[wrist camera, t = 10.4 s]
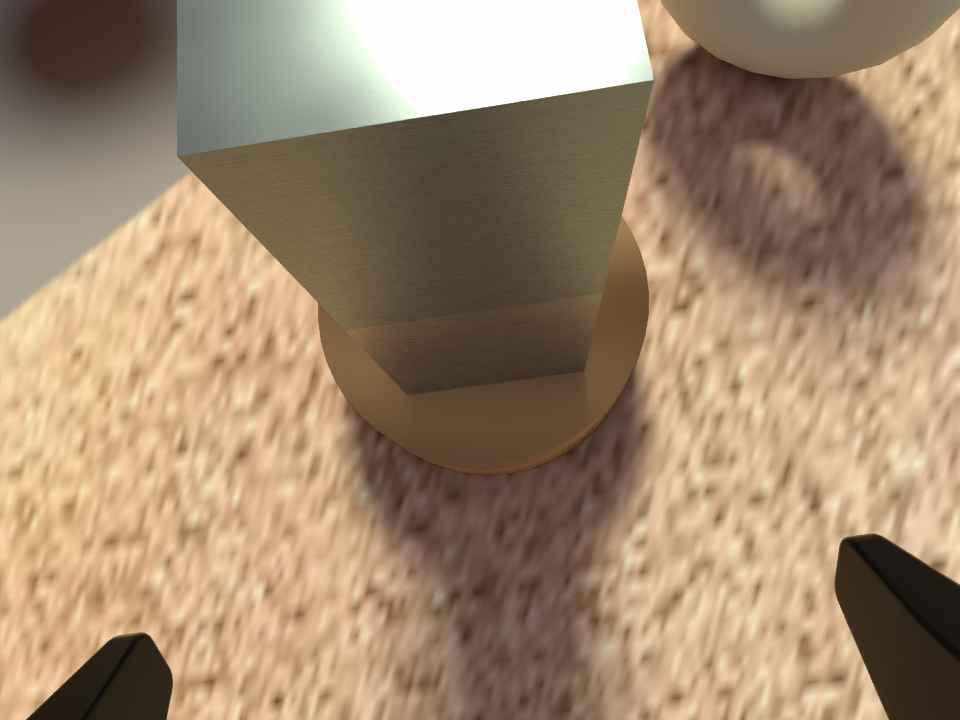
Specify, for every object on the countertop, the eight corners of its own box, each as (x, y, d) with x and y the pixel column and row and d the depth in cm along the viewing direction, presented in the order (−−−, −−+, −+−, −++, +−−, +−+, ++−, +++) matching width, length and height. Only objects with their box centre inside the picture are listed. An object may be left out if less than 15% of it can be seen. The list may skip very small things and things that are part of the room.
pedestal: (597, 510, 22) (606, 505, 19) (312, 432, 24) (273, 414, 20) (660, 232, 24) (679, 183, 21) (396, 178, 26) (374, 124, 22)
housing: (584, 371, 20) (653, 79, 7) (407, 395, 20) (177, 156, 7) (558, 209, 21) (576, -275, 9) (392, 233, 21) (176, -198, 9)
